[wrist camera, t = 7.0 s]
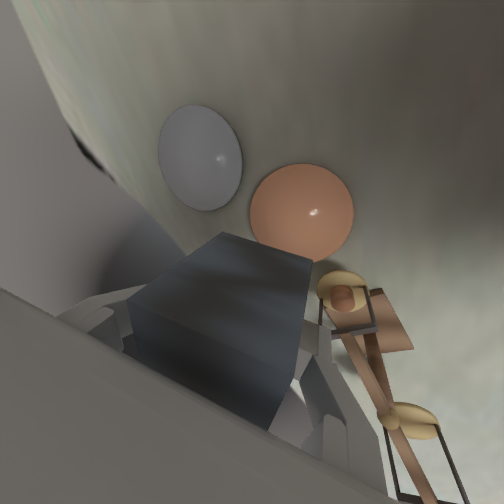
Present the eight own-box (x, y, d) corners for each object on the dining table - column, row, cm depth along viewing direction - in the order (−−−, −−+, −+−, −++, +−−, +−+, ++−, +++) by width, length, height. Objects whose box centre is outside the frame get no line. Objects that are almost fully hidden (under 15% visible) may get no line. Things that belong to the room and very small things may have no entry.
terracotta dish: (372, 175, 21) (374, 176, 20) (330, 271, 28) (330, 275, 27) (261, 154, 24) (258, 154, 23) (246, 245, 30) (244, 248, 29)
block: (313, 259, 10) (294, 375, 4) (287, 327, 12) (257, 452, 7) (222, 231, 11) (126, 299, 6) (216, 298, 13) (145, 388, 8)
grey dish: (251, 113, 23) (247, 111, 22) (238, 218, 29) (235, 220, 28) (160, 101, 26) (153, 98, 25) (166, 198, 32) (161, 199, 31)
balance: (428, 373, 29) (507, 547, 16) (371, 377, 33) (398, 518, 20) (360, 248, 25) (393, 347, 12) (304, 270, 29) (284, 362, 16)
